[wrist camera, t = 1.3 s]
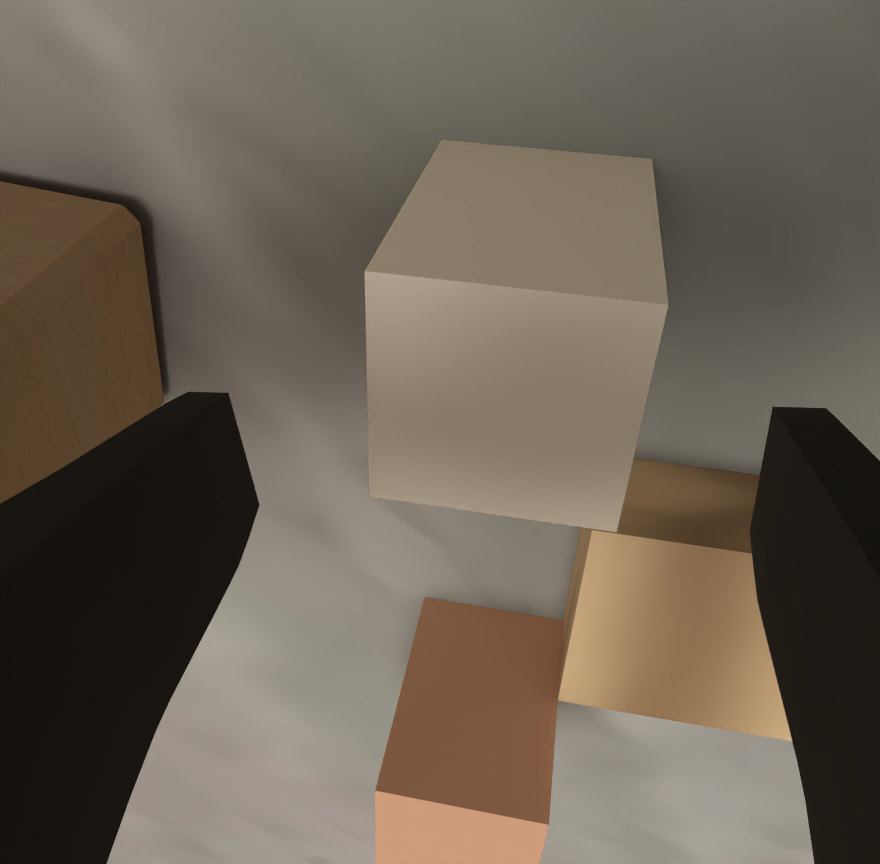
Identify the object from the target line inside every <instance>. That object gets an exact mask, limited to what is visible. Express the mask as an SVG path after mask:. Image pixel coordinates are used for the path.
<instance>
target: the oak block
mask: <svg viewBox="0 0 880 864" xmlns="http://www.w3.org/2000/svg"><path fill="white" fill-rule="evenodd" d="M759 478H760V475H752V474H745V473H737V472H730V471H722V470H715V469H707V468H700V467H692V466H685V465H677V464H670V463H662V462H655V461H647V460H640V459H633V463H632V467H631V471H630V476H629V480H628V484H627V489H626V493H625V498H624V502H623V506H622V511H621V515H620V519H619V524H618V528H617V532H611V531H604V530H597V529H591V528H584V527H581V530H580V536H579V541H578V546H577V551H576V557H575V562H574V567H573V572H572V578H571V583H570V588H569V593H568V599H567V604H566V609H565V614H564V620H563V633H562V647H561V661H560V675H559V689H558V701H563V702H569V703H575V704H580V705H586V706H592V707H598V708H604V709H609V710H615V711H621V712H627V713H632V714H638V715H644V716H650V717H655V718H661V719H667V720H673V721H679V722H684V723H690V724H696V725H702V726H707V727H713V728H719V729H725V730H730V731H736V732H742V733H748V734H754V735H759V736H765V737H771V738H777V739H782V740H788V741H792V738H791V734H790V730H789V726H788V722H787V718H786V714H785V710H784V706H783V702H782V698H781V694H780V691H779V687H778V683H777V679H776V675H775V671H774V667H773V663H772V659H771V655H770V651H769V647H768V643H767V639H766V635H765V630H764V626H763V622H762V618H761V614H760V610H759V606H758V601H757V594H756V586H755V577H754V569H753V559H752V550H751V540H750V526H751V521H752V515H753V510H754V505H755V499H756V494H757V489H758V483H759Z"/></svg>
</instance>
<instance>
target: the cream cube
mask: <svg viewBox="0 0 880 864" xmlns="http://www.w3.org/2000/svg"><path fill="white" fill-rule="evenodd" d="M667 309H668V296H667V287H666V278H665V269H664V260H663V252H662V243H661V234H660V225H659V216H658V208H657V199H656V190H655V181H654V172H653V163H652V159H647V158H636V157H625V156H614V155H603V154H592V153H581V152H570V151H559V150H548V149H537V148H525V147H514V146H503V145H492V144H481V143H470V142H459V141H448V140H441V142H440V143H439V145H438V147H437V149H436V150H435V152H434V154H433V155H432V157H431V159H430V160H429V162H428V164H427V166H426V167H425V169H424V171H423V172H422V174H421V176H420V178H419V179H418V181H417V183H416V184H415V186H414V188H413V189H412V191H411V193H410V195H409V196H408V198H407V200H406V201H405V203H404V205H403V207H402V208H401V210H400V212H399V213H398V215H397V217H396V218H395V220H394V222H393V224H392V225H391V227H390V229H389V230H388V232H387V234H386V236H385V237H384V239H383V241H382V242H381V244H380V246H379V247H378V249H377V251H376V253H375V254H374V256H373V258H372V259H371V261H370V263H369V265H368V266H367V268H366V270H365V310H366V356H367V402H368V448H369V494H370V497H377V498H384V499H391V500H398V501H405V502H411V503H418V504H425V505H432V506H439V507H446V508H453V509H460V510H467V511H473V512H480V513H487V514H494V515H501V516H508V517H515V518H522V519H529V520H535V521H542V522H549V523H556V524H563V525H570V526H577V527H584V528H591V529H597V530H604V531H611V532H617V528H618V524H619V519H620V515H621V511H622V506H623V502H624V498H625V493H626V489H627V484H628V480H629V476H630V471H631V467H632V463H633V458H634V454H635V449H636V445H637V441H638V436H639V432H640V428H641V423H642V419H643V414H644V410H645V406H646V401H647V397H648V393H649V388H650V384H651V379H652V375H653V371H654V366H655V362H656V358H657V353H658V349H659V344H660V340H661V336H662V331H663V327H664V322H665V318H666V314H667Z"/></svg>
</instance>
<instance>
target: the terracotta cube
mask: <svg viewBox="0 0 880 864" xmlns="http://www.w3.org/2000/svg"><path fill="white" fill-rule="evenodd" d="M562 631H563V620H558V619H552V618H546V617H540V616H534V615H528V614H522V613H516V612H510V611H504V610H498V609H492V608H486V607H480V606H474V605H468V604H462V603H456V602H450V601H444V600H438V599H432V598H426V597H425V599H424V603H423V606H422V610H421V614H420V618H419V622H418V626H417V630H416V634H415V638H414V642H413V645H412V649H411V653H410V657H409V661H408V665H407V669H406V673H405V677H404V681H403V684H402V688H401V692H400V696H399V700H398V704H397V708H396V712H395V716H394V720H393V724H392V727H391V731H390V735H389V739H388V743H387V747H386V751H385V755H384V759H383V763H382V766H381V770H380V774H379V778H378V782H377V786H376V790H375V833H376V864H539V862H540V858H541V854H542V850H543V846H544V842H545V838H546V834H547V830H548V826H549V814H550V800H551V786H552V772H553V758H554V743H555V729H556V715H557V701H558V687H559V673H560V659H561V645H562Z"/></svg>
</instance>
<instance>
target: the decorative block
mask: <svg viewBox="0 0 880 864" xmlns="http://www.w3.org/2000/svg"><path fill="white" fill-rule="evenodd" d="M163 401H164V397H163V390H162V382H161V375H160V367H159V360H158V352H157V345H156V337H155V330H154V323H153V315H152V308H151V300H150V293H149V285H148V278H147V270H146V263H145V255H144V248H143V240H142V233H141V225H140V223H139V222H138V220H137V219H136V218H135V217H134V215H133V214H132V213H131V212H129V211H128V210H127V209H126V208H125V207H124V206H123V205H120V204H115V203H110V202H105V201H100V200H94V199H89V198H84V197H79V196H74V195H69V194H63V193H58V192H53V191H48V190H43V189H37V188H32V187H27V186H22V185H17V184H12V183H6V182H1V181H0V504H1V503H2V502H4V501H6V500H8V499H9V498H11V497H13V496H14V495H16V494H18V493H20V492H21V491H23V490H25V489H27V488H28V487H30V486H32V485H33V484H35V483H37V482H39V481H40V480H42V479H44V478H46V477H47V476H49V475H51V474H52V473H54V472H56V471H58V470H59V469H61V468H63V467H64V466H66V465H67V464H69V463H71V462H72V461H74V460H75V459H77V458H79V457H80V456H82V455H83V454H85V453H87V452H88V451H90V450H91V449H93V448H95V447H96V446H98V445H99V444H101V443H103V442H104V441H106V440H107V439H109V438H111V437H112V436H114V435H115V434H117V433H119V432H120V431H122V430H123V429H125V428H127V427H128V426H130V425H131V424H133V423H135V422H136V421H138V420H139V419H141V418H143V417H144V416H146V415H147V414H149V413H151V412H152V411H154V410H156V409H157V408H159V407H160V405H161V404H162V403H163Z"/></svg>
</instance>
